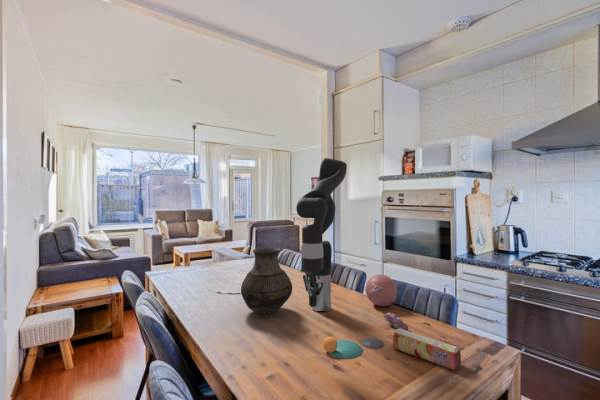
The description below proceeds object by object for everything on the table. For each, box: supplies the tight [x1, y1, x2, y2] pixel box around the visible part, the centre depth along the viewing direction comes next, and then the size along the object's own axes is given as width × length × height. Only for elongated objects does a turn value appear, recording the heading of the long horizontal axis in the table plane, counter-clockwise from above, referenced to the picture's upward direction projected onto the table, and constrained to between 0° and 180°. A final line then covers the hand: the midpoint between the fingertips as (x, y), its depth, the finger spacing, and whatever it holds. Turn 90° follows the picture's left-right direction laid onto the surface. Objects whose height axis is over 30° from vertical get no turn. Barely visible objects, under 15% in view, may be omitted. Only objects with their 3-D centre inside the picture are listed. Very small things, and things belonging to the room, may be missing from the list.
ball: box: [322, 336, 338, 354], centre depth 105 cm, size 5×5×5 cm
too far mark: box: [361, 337, 385, 349], centre depth 111 cm, size 8×8×1 cm
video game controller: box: [383, 312, 409, 331], centre depth 125 cm, size 10×5×7 cm, turn 22°
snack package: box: [392, 328, 462, 371], centre depth 101 cm, size 21×7×7 cm, turn 46°
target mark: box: [327, 339, 363, 360], centre depth 107 cm, size 13×13×1 cm
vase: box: [240, 247, 293, 314], centre depth 143 cm, size 25×25×30 cm
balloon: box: [364, 274, 398, 307], centre depth 149 cm, size 15×20×15 cm
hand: (312, 305), depth 103 cm, fingers closed
